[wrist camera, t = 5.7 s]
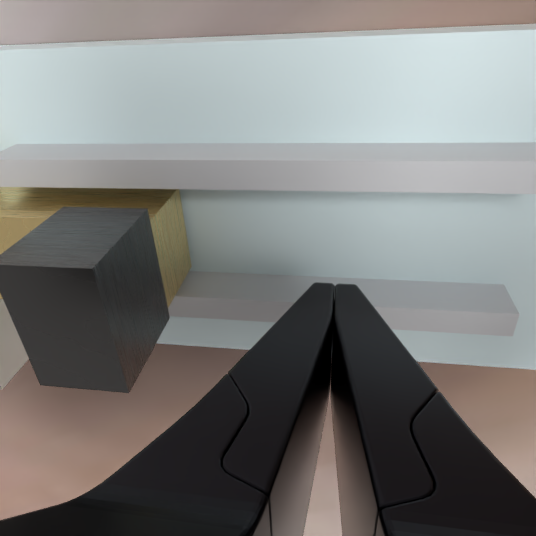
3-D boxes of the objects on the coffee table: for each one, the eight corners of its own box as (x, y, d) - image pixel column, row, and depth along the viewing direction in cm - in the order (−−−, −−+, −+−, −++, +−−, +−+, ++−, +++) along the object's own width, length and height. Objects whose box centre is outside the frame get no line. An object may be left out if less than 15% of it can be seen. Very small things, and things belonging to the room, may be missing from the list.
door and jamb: (646, 18, 10) (802, 34, 6) (535, 337, 14) (592, 442, 11) (-202, 53, 13) (-391, 75, 10) (-68, 301, 18) (-164, 374, 14)
